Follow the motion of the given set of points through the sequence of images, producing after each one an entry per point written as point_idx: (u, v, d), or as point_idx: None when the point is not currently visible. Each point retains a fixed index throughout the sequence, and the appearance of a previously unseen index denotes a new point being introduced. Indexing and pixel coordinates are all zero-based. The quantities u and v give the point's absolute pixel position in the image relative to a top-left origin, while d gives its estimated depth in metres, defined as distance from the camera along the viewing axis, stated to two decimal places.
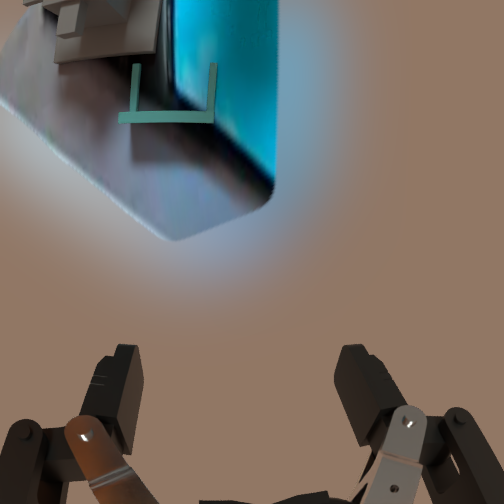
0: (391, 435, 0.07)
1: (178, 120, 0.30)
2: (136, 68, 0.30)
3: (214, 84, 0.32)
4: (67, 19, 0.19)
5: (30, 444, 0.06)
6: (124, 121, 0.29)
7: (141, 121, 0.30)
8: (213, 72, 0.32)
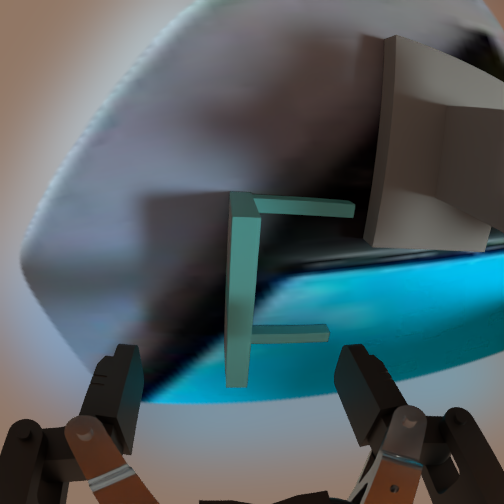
0: (391, 435, 0.07)
1: (231, 340, 0.16)
2: (344, 212, 0.18)
3: (291, 341, 0.21)
4: None
5: (30, 444, 0.06)
6: (236, 232, 0.14)
7: (232, 272, 0.14)
8: (312, 338, 0.21)
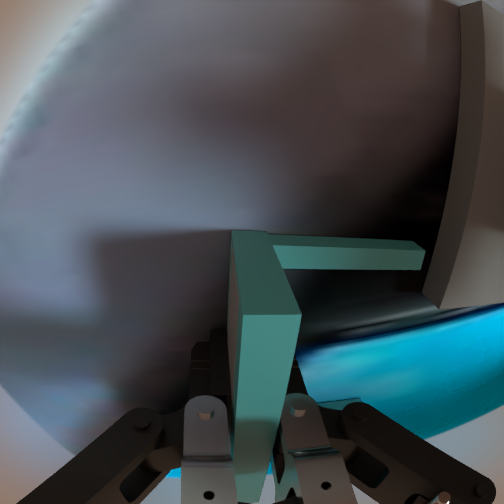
0: (288, 431, 0.08)
1: (237, 468, 0.09)
2: (410, 262, 0.11)
3: None
4: None
5: (151, 433, 0.07)
6: (250, 341, 0.07)
7: (242, 399, 0.07)
8: None
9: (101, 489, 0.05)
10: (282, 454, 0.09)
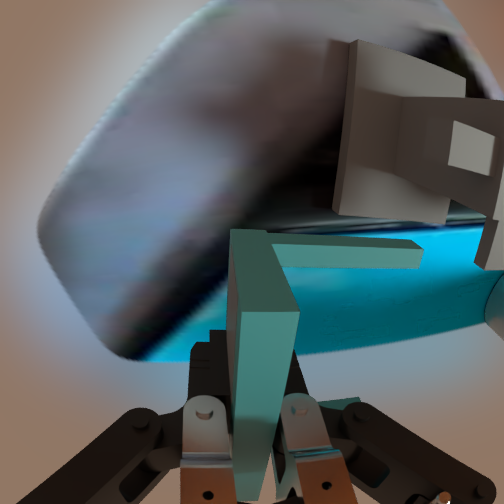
0: (289, 431, 0.08)
1: (237, 466, 0.09)
2: (408, 261, 0.11)
3: None
4: (472, 149, 0.11)
5: (150, 433, 0.07)
6: (248, 338, 0.07)
7: (241, 396, 0.07)
8: None
9: (100, 489, 0.05)
10: (283, 454, 0.09)
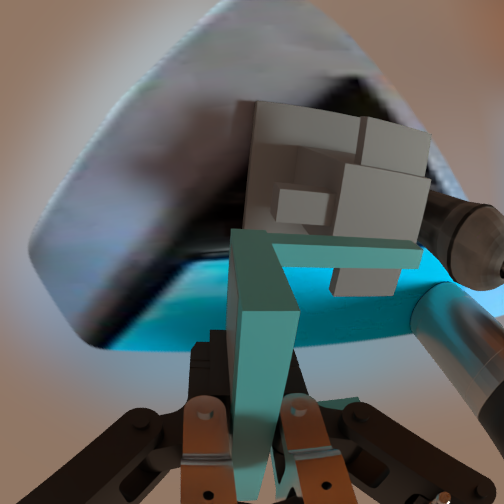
0: (289, 431, 0.08)
1: (236, 465, 0.09)
2: (408, 261, 0.11)
3: None
4: (301, 208, 0.19)
5: (150, 433, 0.07)
6: (249, 337, 0.07)
7: (241, 395, 0.07)
8: None
9: (100, 489, 0.05)
10: (283, 454, 0.09)
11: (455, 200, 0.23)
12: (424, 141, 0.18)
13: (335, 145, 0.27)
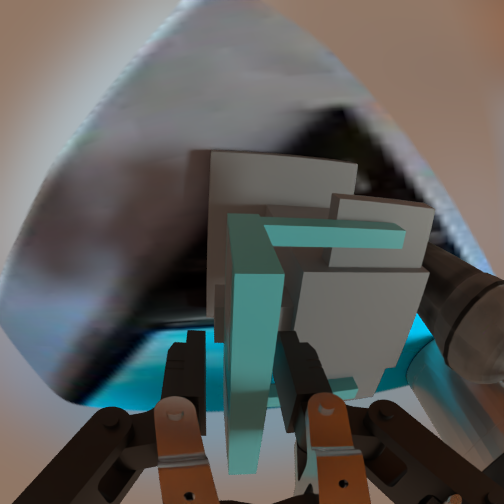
0: (314, 429, 0.08)
1: (234, 433, 0.10)
2: (391, 241, 0.12)
3: None
4: None
5: (119, 431, 0.07)
6: (241, 298, 0.08)
7: (236, 356, 0.09)
8: None
9: (80, 490, 0.05)
10: (306, 452, 0.09)
11: (462, 269, 0.19)
12: (424, 221, 0.13)
13: (313, 200, 0.23)
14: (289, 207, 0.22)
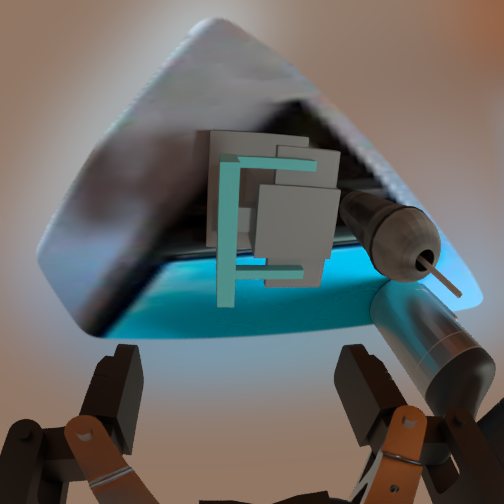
0: (391, 435, 0.07)
1: (220, 261, 0.21)
2: (308, 167, 0.23)
3: (272, 277, 0.27)
4: None
5: (30, 444, 0.06)
6: (222, 173, 0.19)
7: (220, 203, 0.19)
8: (289, 275, 0.27)
9: None
10: None
11: (384, 203, 0.30)
12: (333, 159, 0.24)
13: None
14: None
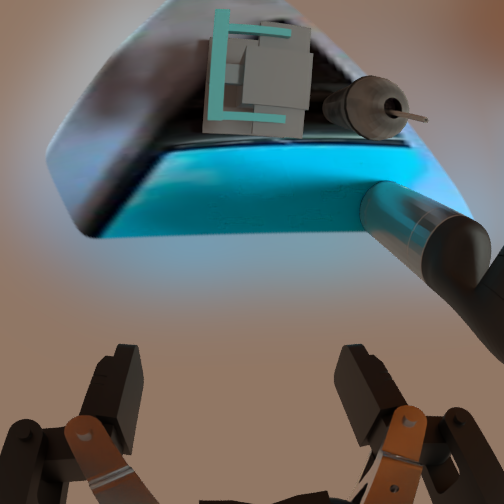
0: (391, 435, 0.07)
1: (212, 78, 0.23)
2: (284, 32, 0.25)
3: (257, 120, 0.28)
4: None
5: (30, 444, 0.06)
6: (217, 15, 0.21)
7: (214, 35, 0.21)
8: (273, 118, 0.29)
9: None
10: None
11: None
12: (305, 32, 0.26)
13: None
14: None
